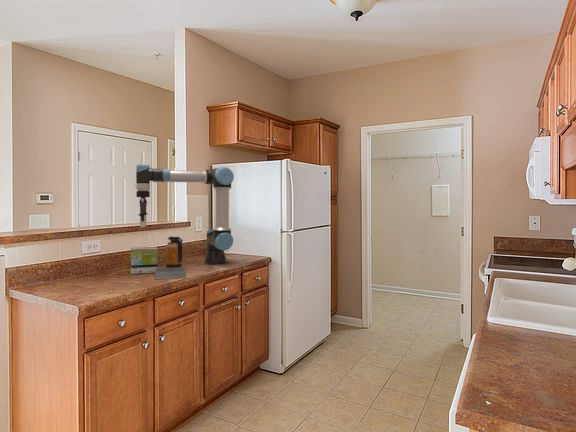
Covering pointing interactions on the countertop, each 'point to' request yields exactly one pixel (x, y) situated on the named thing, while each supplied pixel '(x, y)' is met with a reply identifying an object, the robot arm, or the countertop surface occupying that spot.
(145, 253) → the tea box
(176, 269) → the grey flat slab
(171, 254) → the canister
